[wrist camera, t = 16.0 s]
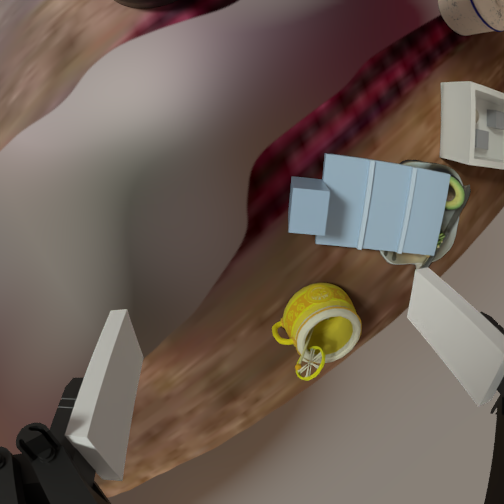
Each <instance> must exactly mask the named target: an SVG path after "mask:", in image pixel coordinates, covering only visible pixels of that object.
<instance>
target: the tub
mask: <svg viewBox="0 0 504 504" xmlns="http://www.w3.org/2000/svg"><path fill="white" fill-rule="evenodd" d="M440 157H441V158H445V159H449V160H453V161H456V162H460V163H464V164H467V165H474V166H482V167H489V168H496V169H503V170H504V93H501V92H499V91H496V90H494V89H491V88H488V87H485V86H483V85H480V84H477V83H474V82H471V81H464V82H443V83H441V141H440Z"/></svg>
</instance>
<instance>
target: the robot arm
mask: <svg viewBox="0 0 504 504" xmlns="http://www.w3.org/2000/svg"><path fill="white" fill-rule="evenodd" d="M114 1H116V2H118V3H120V4H122V5H125V6H129V7H134V8H152V7H159V6H163V5H167V4H170V3H173V2H175V1H177V0H114ZM407 318H408V319H409V320H410V322H411V323H412V324H413V325H414V326H415V328H416V329H417V330H418V331H419V332H420V333H421V335H422V336H423V337H424V338H425V340H426V341H427V342H428V343H429V344H430V346H431V347H432V348H433V349H434V351H435V352H436V353H437V354H438V355H439V357H440V358H441V359H442V360H443V362H444V363H445V364H446V365H447V367H448V368H449V369H450V370H451V372H452V373H453V374H454V376H455V377H456V378H457V380H458V381H459V382H460V383H461V385H462V386H463V387H464V389H465V390H466V391H467V393H468V394H469V395H470V397H471V398H472V399H473V401H474V402H475V403H476V405H477V406H478V407H479V406H481V405H483V404H485V403H487V402H489V401H491V399H492V398H493V396H494V394H495V392H496V390H498V392H499V393H500V396H499V398H498V399H497V401H496V403H495V405H494V406H493V408H492V410H491V413H493V412H494V411H495V409H496V408H497V413H496V414H497V422H496V433H495V443H494V451H493V459H492V465H491V472H490V477H489V483H488V488H487V493H486V498H485V502H484V504H504V329H503V328H502V327H501V326H500V325H498V323H497V322H496V321H495V320H494V319H493V318H492V317H490V316H489V315H487V314H485V313H483V312H479V311H477V310H476V309H475V308H474V307H473V306H472V305H471V304H470V303H469V302H467V301H466V300H465V299H464V298H463V297H462V296H461V295H460V294H459V293H457V292H456V291H455V290H454V289H453V288H452V287H450V286H449V285H448V284H447V283H446V282H445V281H443V280H442V279H441V278H440V277H439V276H438V275H436V274H435V273H434V272H433V271H432V270H430V269H429V268H428V267H427V268H421V269H416V270H415V275H414V282H413V287H412V293H411V299H410V304H409V309H408V314H407ZM142 362H143V355H142V352H141V350H140V347H139V344H138V341H137V338H136V335H135V332H134V329H133V327H132V323H131V320H130V317H129V314H128V311H127V309H123V310H112V311H110V314H109V316H108V319H107V321H106V324H105V326H104V328H103V331H102V333H101V335H100V338H99V340H98V343H97V345H96V348H95V351H94V353H93V355H92V358H91V360H90V364H89V366H88V368H87V371H86V374H85V376H84V378H73V379H72V380H71V381H70V383H69V384H68V385H67V386H66V387H65V390H64V392H63V395H62V400H60V403H59V405H58V407H59V408H57V411H56V414H55V416H54V419H53V422H52V425H51V428H50V430H49V429H48V428H47V426H46V425H44V424H41V423H32V424H29V425H26V426H25V427H24V428H22V429H21V431H20V432H19V434H18V436H17V439H16V446H17V448H18V449H19V450H20V451H21V452H22V454H16V455H12V454H11V453H10V451H8V449H6V448H4V447H0V504H111V503H110V502H109V500H108V499H107V497H106V496H105V495H104V493H103V492H102V490H101V489H100V488H99V486H98V485H97V483H96V482H95V481H94V477H95V472H96V473H97V474H98V475H99V476H100V477H101V478H102V479H106V480H117V481H122V480H123V472H124V465H125V458H126V451H127V444H128V438H129V432H130V426H131V420H132V414H133V408H134V403H135V397H136V392H137V387H138V382H139V377H140V372H141V367H142Z"/></svg>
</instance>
